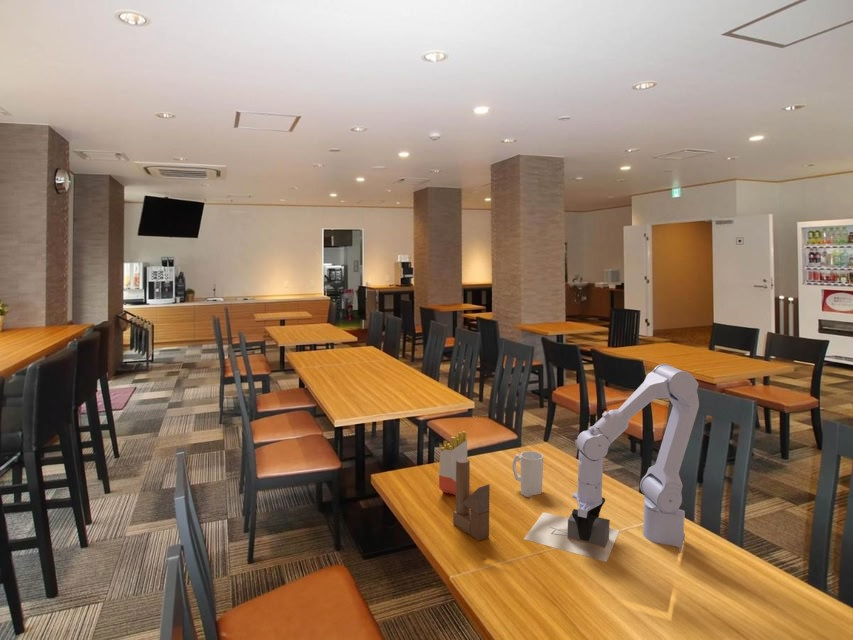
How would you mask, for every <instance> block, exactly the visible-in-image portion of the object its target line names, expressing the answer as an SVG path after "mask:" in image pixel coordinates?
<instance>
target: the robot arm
mask: <svg viewBox="0 0 853 640" xmlns="http://www.w3.org/2000/svg"><path fill="white" fill-rule="evenodd" d="M699 385H700V383H699V382H698V381H697V379H696V378H695V377H694V375H693V374H692V373H690V372H689V371H685V370H682V369H679V368H676V367H674V366H672V365H670V364H668V363H660V364H658V365H657V366H655V367H654V368H653V370H652V371H651V372H648V374H647V375H646V376H645V378H644V381H643V382H642V383H641V384H640V385H639V386H638V387H637V389H636V390H635V391H633V393H631V395H630V396H629V397H628V398H626V400H625V401H624V403H622V404H621V406H620V407H619V408H617V409H616V408H615V409H610V410H608V411H604V412H603V413H602V414H601V415H602V417H601V418H599V419H598V420H597V422H595V423H594V425H592V426H591V425H590V426H589V427H588V429H587V430H583V431H582V432H580V433H579V434H578V435H577V439H575V440H574V444H575V447H576V448H577V450H578V461H577V463H578V467H577V468H578V469H577V492H574V493H572V499H575V500H576V502H577V507H578V508H577V509H575V508H573V509H572V513H571V514H572V516H573V518H574V520H575V522H576V524H577V528H578V533H579V537H580V539H581V540H585V541H589V539H590V536H591V530H592V526H593V523H594V521H595V520H596V518H597V517H599V516H600V512H601V509H602V507H603V505H604V504H605V503H606V498H604V497H602V496H603V469H604V468H603V465H604V463H603V462H604V457H607V454H608V451H609V447H610V446H611V444H612V443H613V442H614V441H616V439H617V438H619V436H621V434H623V433H624V432H625V431H626V430H627V429H628V428H629V421H630V419H632V418H633V417H635V416H636V414H638V413H639V412H640V411H641V410H643V409H644V408H645V407H646V406H648V405H649V404H650V403H651V402H652V401H653V400H657V399H659V400H660V399H661V400H663V399H667V400H669V401H670V402H671V403H670V404H671V405H672V407H671V412H670V414H669V418H668V421H667V424H666V428H665V431H664V435H663V438H662V441H661V444H660V448H659V450H658V454H657V458H656V461H655V464H653V465H652V466H650V467H648V469H647V472H646V473H645V475H644V476H643V477H642V478H641V479H640V483H639V488H640V491H641V493H642V494H643V495H644V502H643V503H644V504H643V524H642V525H643V526H642V535H643V537H644V538H645V539H646V540H648V541H650V542H652V543H655V544H659V545H660V544H661V545H669V546H673V547H678V553H682V550H683V544H684V541H685V536H686V534H685V516H686V513H685V512H686V511H685V510H683V509H680V507H681V505H682V503H683V495H682V491H683V485H684V484H683V483H682V480H681V477H680V470H681V467H682V463H683V460H684V457H685V453H686V450H687V447H688V444H689V441H690V437H691V434H692V430H693V429H694V428H693V427H694V423H695V421H696V418H697V414H698V411H699V407H700V400H699V395H698V394H699V393H698V389H699V388H698V387H699ZM599 518H600V517H599Z"/></svg>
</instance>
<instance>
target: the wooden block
mask: <svg viewBox="0 0 853 640" xmlns="http://www.w3.org/2000/svg"><path fill="white" fill-rule="evenodd" d="M470 466H471V462H470V460H469V459H468V458H467V459H465V458H460V459H457V460H456V495H455V510H454V511H452V519H453V520H452V521H453V522H452V524H453V525H455V526H456V527H457V528H459V529H461V531H464V532H465V533H466V534H467V535H469V536H471V537H472V538H473V539H475V540H476V541H478V542H479V541H482V540H485V539H487V538H490V493H491V492H490V490H491V489H490V486H491V485H490V484H489V483H488V484H485V485H482V486H479V487H478V488H477V489H475V490H474V491H473V492H472V493H471V492H470V491H471V490H470V487H471V485H470V484H471V482H470V481H471V479H470V475H471V471H470V469H471V467H470ZM470 493H471V494H470Z"/></svg>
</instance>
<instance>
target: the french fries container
mask: <svg viewBox="0 0 853 640" xmlns="http://www.w3.org/2000/svg"><path fill="white" fill-rule="evenodd" d="M457 433H458V435H456V434H455V435H453V436H450V442H449V441H448V440H443V446H441V448H440V451H441V452H439V471H438V482H439V483H438V488H439V489H440V490H441V492H442V493H444V492H445V494H448V493H449V495H452V494H453V496H456V460H457V459H460V458H465V459H468V439H467V431H465V430H463V431H460V432H457Z"/></svg>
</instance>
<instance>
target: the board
mask: <svg viewBox="0 0 853 640" xmlns="http://www.w3.org/2000/svg"><path fill="white" fill-rule="evenodd" d="M568 519H569V517H565V516H561V515H557V514H552V513H549V512H544V511H543V512H542V513H541V514H540V516H539V517H538V518H537V520H536V521H535V523H534V524H533V525H532V527H531V528H530V529H529V531H528V532H527V533H526V535H525V536H524V538H523V540H525V541H528V542H532V543H536V544H540V545H543V546H547V547H550V548H553V549H557V550H561V551H566V552H569V553H573V554H576V555H580V556H582V557H586V558H591V559H594V560H597V561H598V560H599V561H601V562H606V563H607V562H608V560H609V557H610V554H611V552H612V550H613V547H614V544H615V542H616V540H617V537H618V535H619V533H620V529H619V530H618V529H614V528H611V527H609V540H608V542H607V545H606V547H605V548H601V547H597V546H593V545H589V544H585V543H582V542H578V541H574V540H570V539H567V537H568Z"/></svg>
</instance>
